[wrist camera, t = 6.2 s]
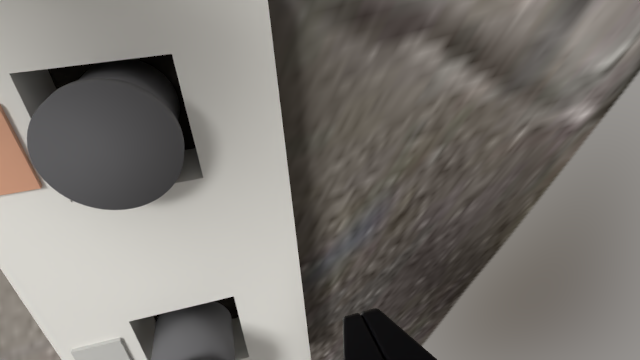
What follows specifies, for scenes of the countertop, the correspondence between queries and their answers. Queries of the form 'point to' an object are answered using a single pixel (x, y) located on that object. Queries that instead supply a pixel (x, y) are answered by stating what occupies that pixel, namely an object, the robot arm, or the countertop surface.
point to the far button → (194, 334)
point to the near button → (110, 136)
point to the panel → (170, 209)
